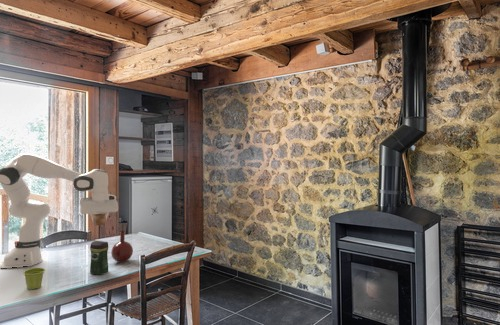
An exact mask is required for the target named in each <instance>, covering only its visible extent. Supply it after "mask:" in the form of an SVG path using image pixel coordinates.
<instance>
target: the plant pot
mask: <svg viewBox="0 0 500 325" xmlns="http://www.w3.org/2000/svg"><path fill="white" fill-rule="evenodd" d="M45 271H46V268H43V267H34V268H29V269H26V270H24V271H23V275H24V277H25V282H26V283H25V284H26V289H28V290H35V289H39V288H42V282H43V278H44V274H45Z"/></svg>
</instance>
